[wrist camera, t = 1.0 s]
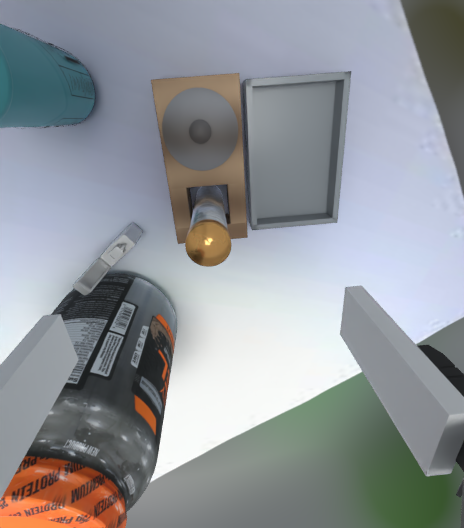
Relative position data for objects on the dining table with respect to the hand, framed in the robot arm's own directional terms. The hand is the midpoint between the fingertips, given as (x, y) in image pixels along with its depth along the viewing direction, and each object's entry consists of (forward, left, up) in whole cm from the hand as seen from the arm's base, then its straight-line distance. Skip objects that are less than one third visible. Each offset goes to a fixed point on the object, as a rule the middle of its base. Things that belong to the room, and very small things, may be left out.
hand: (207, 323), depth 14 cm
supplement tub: (+16, -14, -25) cm, 32 cm away
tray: (-4, +10, -24) cm, 26 cm away
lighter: (+5, -12, -25) cm, 28 cm away
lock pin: (0, 0, -24) cm, 24 cm away
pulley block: (-4, 0, -24) cm, 25 cm away
